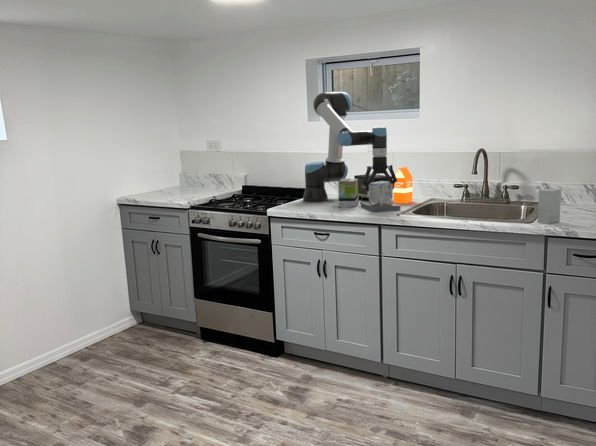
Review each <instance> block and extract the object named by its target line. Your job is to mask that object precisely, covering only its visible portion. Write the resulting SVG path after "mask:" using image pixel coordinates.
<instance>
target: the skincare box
mask: <svg viewBox="0 0 596 446" xmlns="http://www.w3.org/2000/svg"><path fill="white" fill-rule="evenodd" d="M561 201H562V189H558V188H552V187H551V188H546V189H540V190H538V201H537V202H538V203H537V205H538V206H537V223H540V224H544V225H550V224H556V223H559V222H560V220H561V204H562V202H561Z"/></svg>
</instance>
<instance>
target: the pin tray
mask: <svg viewBox="0 0 596 446" xmlns="http://www.w3.org/2000/svg"><path fill="white" fill-rule="evenodd" d="M392 199H393V197H392V196H389V201H387V202H383V197H380V203H370V197H369V199H368V201H367V202H360V208H362V209H364V210H367V211H370V212H371V213H382V212H383V213H384V212H395V211H401V205H400V204H398V203H394V202H393V200H392Z"/></svg>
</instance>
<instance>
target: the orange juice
mask: <svg viewBox="0 0 596 446" xmlns="http://www.w3.org/2000/svg"><path fill="white" fill-rule="evenodd" d="M394 174H395V176H396V179H397V182H395V183H394V189H393V203H394V202H395V203H394V204H408V202H409V203H411V202H413V176H412V174H411V172H410V171H409V169H408V167H407V166H403V167H399V168H398V170H397V171H396V173H394Z"/></svg>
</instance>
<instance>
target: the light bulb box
mask: <svg viewBox="0 0 596 446" xmlns="http://www.w3.org/2000/svg"><path fill="white" fill-rule="evenodd" d="M369 185H371V197H370V203H380V197H383V202H387V201H388V202H389V196H390V181H378V182H373V183H370V184H369Z"/></svg>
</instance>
